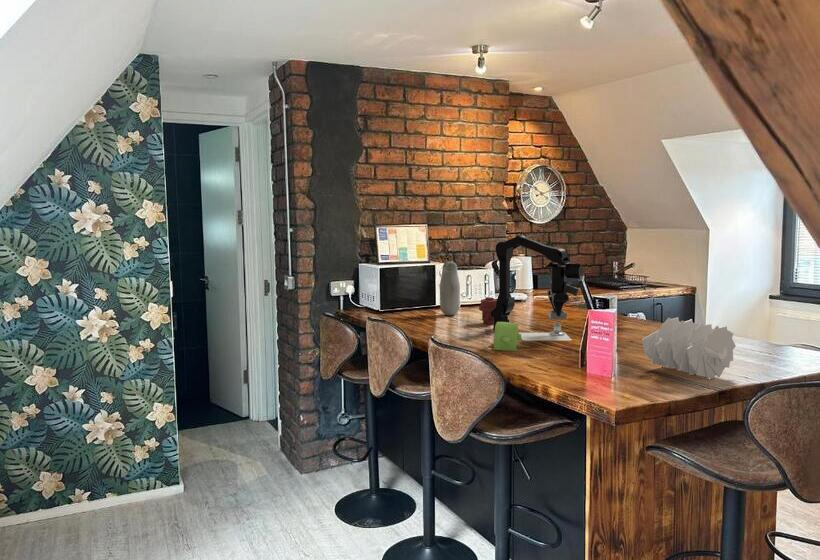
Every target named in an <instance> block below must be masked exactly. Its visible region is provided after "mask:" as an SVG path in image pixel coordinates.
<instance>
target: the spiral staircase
mask: <svg viewBox="0 0 820 560" xmlns="http://www.w3.org/2000/svg"><path fill="white" fill-rule="evenodd" d="M712 325H713V324H711V323H710V324H704V323H703V322H700V323H699V324H697V323H695V322H693V319H692V318H691V319H689V320H685V321H684V320H680V319H679V317H674V318H671V317H668V318H666V320H665V321H664V322H663V323H662V324H660V327H659V330H656V331H654V332H652V333H651V334H649V335H647V336H645V337H643V338H642V339H641V343H642V346H643V351H644V353H643V354H644V355H645V356H646V358H648V359H649V360H650V363H651V365H656V366H657V365H658V366H661V368H662V367H663V368H665V367H666V369H676V370H677V372H680V371H681V372H684V373H688V374H689V376H690V375H692V376H694V375H696V376H699V377H705V378H706V380H707V379H709V378H711V379H713V378H715V377H716V376H717V377H718V378H720V377H721V376H722V374H723V372H724V370H725V368H727V369H730V364H731V362H733V361H734V349H735V348H736V347H737V346H736V344H735V342H734V339H733V337H734V332H732V331H731V330H728V326H727V325H724V326H720V327H719V325H716V326H715V327H714V328H713V327H712ZM709 380H710V379H709Z"/></svg>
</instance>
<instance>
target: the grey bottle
mask: <svg viewBox="0 0 820 560" xmlns="http://www.w3.org/2000/svg"><path fill="white" fill-rule="evenodd" d="M440 277H441V278H440V281H439V307H440V308H439V309H440V310H441V313H442V314H443V315H445V316H449V317H451V316H454V315H457V314H458V312H459V310H460V306H461V305H460V303H461V299H460V297H461V283H460V278H459V272H458V265H457V264H456V262H454V261H450V260H448V261H445V262H444V263H443V265H442V271H441V275H440Z"/></svg>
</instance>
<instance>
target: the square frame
mask: <svg viewBox="0 0 820 560" xmlns="http://www.w3.org/2000/svg"><path fill="white" fill-rule="evenodd" d="M547 313H548V318H549V319H550V320H567V317H568V316H567V314H568V313H567V312H566V311H565V310H562V311H561V314H560V316H557V314H556V311H554V310H548V312H547Z"/></svg>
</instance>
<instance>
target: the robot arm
mask: <svg viewBox="0 0 820 560" xmlns="http://www.w3.org/2000/svg"><path fill="white" fill-rule="evenodd" d="M520 246H522V247H524V248H526V249H529V250H532V251H533V252H535V253H536V252H537V253H538V254H540V255H542V256H544V257H545V258H546V259H547V260H549V263H548V264H547V265H546V268H551V269H550V280H549V281H550V288H548V290H547V297H548V300H549V302H550V305H551V308H552V311H556V314H557V316H560V314H561V311H563V307H564V305H565V303H567V302H568V301H570V296H569V295H568V294H571V295H573V296H575V297H576V296H577V295H578V293H579V290H580V289H579V288H577V287H575V284H573V283H568V284H567V281H566V279H568V280H580V276H583V277H584V275H585V271H584V267H583V262H577V263H575V262H572V261H571V260H570V257H568V253H567V250H566V249H565V248H561V247H558V246H557V247H555V246H550V245H546V244H544V243H542V242H539V241H537V240H534V239H531V238H530V237H527V236H525V235H522V234H519V235H516V236H514V237H513V238H509V239H507V240H505V241H499V242H497V243H496V244H495V254H496V257H497V260H498V263H499V264H498V265H499V266H498V269H499V270H498V272H499V273H498V274H499V275H498V276H499V280H498V282H499V285H498V287H499V288H498V295H497V298H496V299H497V301H496V308H495V309H494V310H493V311H492V312H491V316H492V317H493V324H492V325H493V327H492V330H493V331H495V325H496V323H497V322H509V323H510V319H509V317H508V316H510V315H511V313H512V312H513V310H514V308H515V307H516V305H515V301H516V298H515V296H512V295H511V260H512V257H513V256H514V254H513V253H514V250H515V249H518V248H519V247H520ZM567 293H568V294H567Z"/></svg>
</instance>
